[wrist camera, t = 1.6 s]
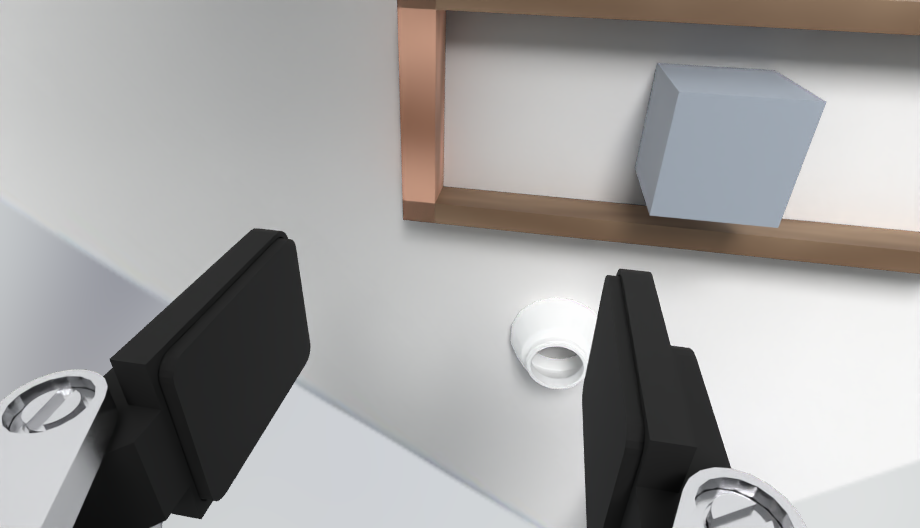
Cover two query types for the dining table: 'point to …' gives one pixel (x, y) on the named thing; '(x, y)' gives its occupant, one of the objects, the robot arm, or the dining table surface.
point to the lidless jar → (554, 340)
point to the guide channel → (426, 200)
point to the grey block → (724, 143)
